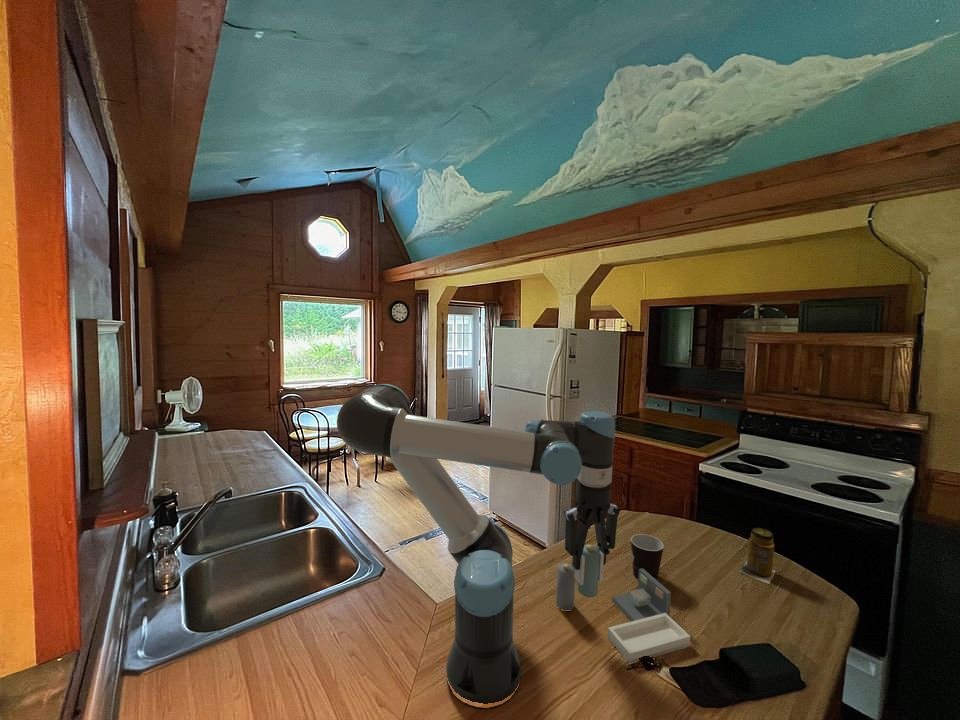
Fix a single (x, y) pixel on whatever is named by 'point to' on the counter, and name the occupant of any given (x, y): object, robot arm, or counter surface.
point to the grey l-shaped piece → (658, 599)
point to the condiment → (760, 556)
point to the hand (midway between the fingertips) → (588, 579)
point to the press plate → (640, 597)
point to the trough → (648, 637)
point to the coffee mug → (646, 554)
